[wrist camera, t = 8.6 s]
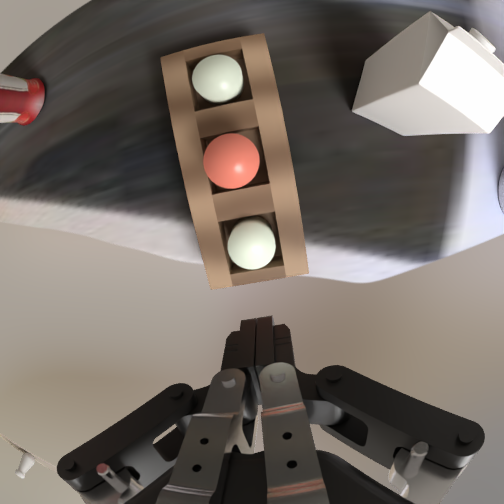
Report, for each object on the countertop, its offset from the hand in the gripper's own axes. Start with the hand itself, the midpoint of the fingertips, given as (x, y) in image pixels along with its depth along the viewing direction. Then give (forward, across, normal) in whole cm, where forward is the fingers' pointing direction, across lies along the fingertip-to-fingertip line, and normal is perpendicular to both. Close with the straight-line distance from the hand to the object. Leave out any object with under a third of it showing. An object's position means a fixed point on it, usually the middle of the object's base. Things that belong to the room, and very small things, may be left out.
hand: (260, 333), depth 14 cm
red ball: (+15, +1, -8) cm, 17 cm away
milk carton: (+20, -17, -13) cm, 29 cm away
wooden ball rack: (+20, +1, -8) cm, 21 cm away
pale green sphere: (+17, +1, -16) cm, 24 cm away
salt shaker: (+19, +104, +69) cm, 127 cm away
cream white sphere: (+17, +1, 0) cm, 17 cm away
